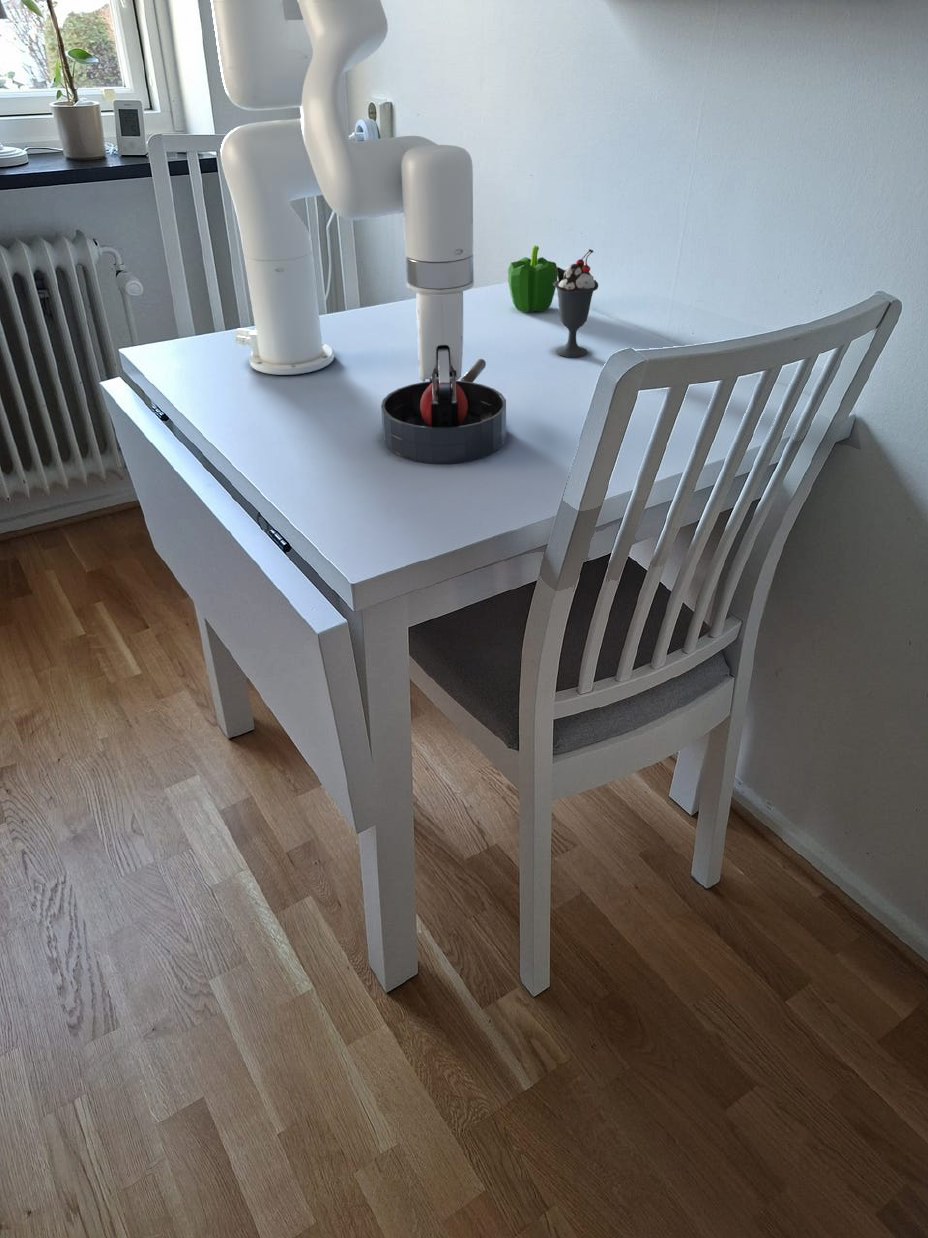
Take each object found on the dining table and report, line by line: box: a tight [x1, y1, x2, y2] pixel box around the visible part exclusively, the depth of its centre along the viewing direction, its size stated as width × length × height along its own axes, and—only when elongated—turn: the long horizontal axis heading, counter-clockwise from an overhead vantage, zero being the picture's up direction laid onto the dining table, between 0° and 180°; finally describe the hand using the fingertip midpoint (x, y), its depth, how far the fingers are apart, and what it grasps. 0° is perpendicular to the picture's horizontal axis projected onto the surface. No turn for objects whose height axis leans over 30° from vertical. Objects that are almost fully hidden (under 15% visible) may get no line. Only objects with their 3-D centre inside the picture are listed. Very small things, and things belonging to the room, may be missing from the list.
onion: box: [420, 376, 468, 427], centre depth 106 cm, size 6×6×8 cm
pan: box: [380, 380, 507, 465], centre depth 107 cm, size 15×15×4 cm
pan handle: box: [459, 358, 487, 383], centre depth 115 cm, size 9×1×1 cm, turn 163°
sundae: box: [553, 248, 599, 358], centre depth 129 cm, size 7×7×15 cm
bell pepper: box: [507, 245, 558, 313], centre depth 148 cm, size 8×8×10 cm
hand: (444, 420), depth 107 cm, fingers open, 7 cm apart
